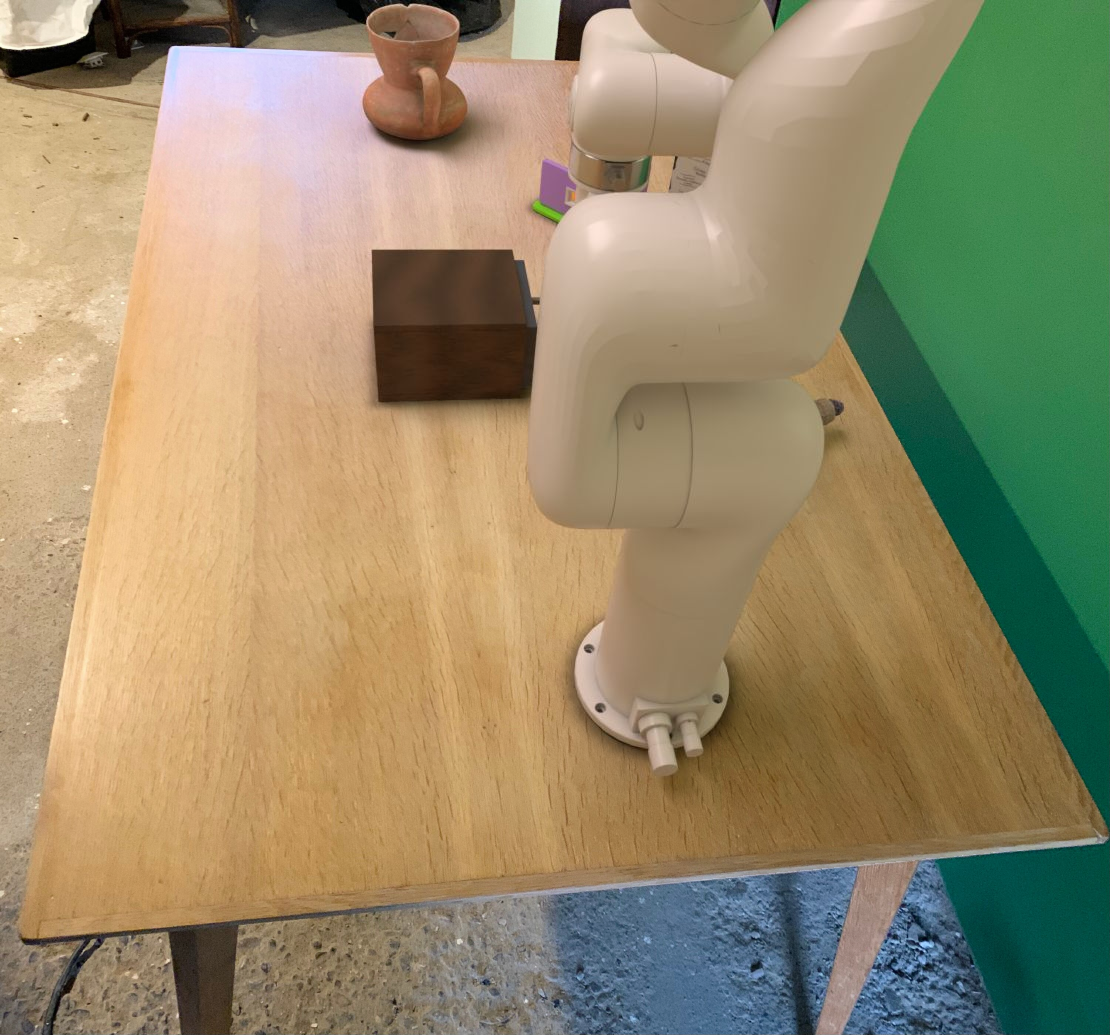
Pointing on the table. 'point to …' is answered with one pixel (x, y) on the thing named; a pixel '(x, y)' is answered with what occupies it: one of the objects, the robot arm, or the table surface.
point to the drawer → (531, 324)
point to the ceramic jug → (414, 72)
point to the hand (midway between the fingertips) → (587, 323)
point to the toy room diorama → (557, 191)
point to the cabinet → (447, 324)
